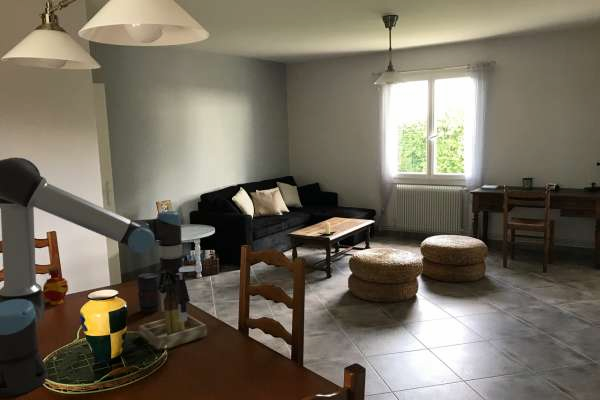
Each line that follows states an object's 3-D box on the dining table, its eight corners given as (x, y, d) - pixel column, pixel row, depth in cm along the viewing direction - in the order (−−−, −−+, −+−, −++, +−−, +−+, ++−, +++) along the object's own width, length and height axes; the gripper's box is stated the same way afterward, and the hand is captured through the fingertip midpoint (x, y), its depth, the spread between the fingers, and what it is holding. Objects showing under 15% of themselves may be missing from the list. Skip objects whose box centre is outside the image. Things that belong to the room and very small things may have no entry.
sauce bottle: (187, 332, 167) (184, 278, 164) (181, 339, 161) (178, 284, 158) (169, 332, 168) (166, 278, 165) (162, 339, 162) (159, 283, 159)
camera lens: (149, 315, 186) (147, 279, 184) (135, 312, 190) (132, 276, 188) (164, 309, 192) (162, 274, 190) (150, 306, 196) (148, 271, 195)
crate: (158, 351, 154) (157, 339, 153) (139, 336, 166) (139, 325, 166) (207, 335, 165) (206, 325, 165) (186, 322, 178) (185, 312, 177)
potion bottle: (38, 307, 198) (35, 272, 196) (52, 298, 208) (49, 266, 206) (62, 306, 198) (59, 272, 196) (75, 298, 208) (72, 265, 206)
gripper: (198, 261, 153) (201, 323, 156) (165, 248, 172) (168, 303, 175) (177, 265, 149) (180, 329, 151) (146, 251, 167) (149, 308, 170)
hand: (174, 315), depth 163 cm, fingers open, 13 cm apart
